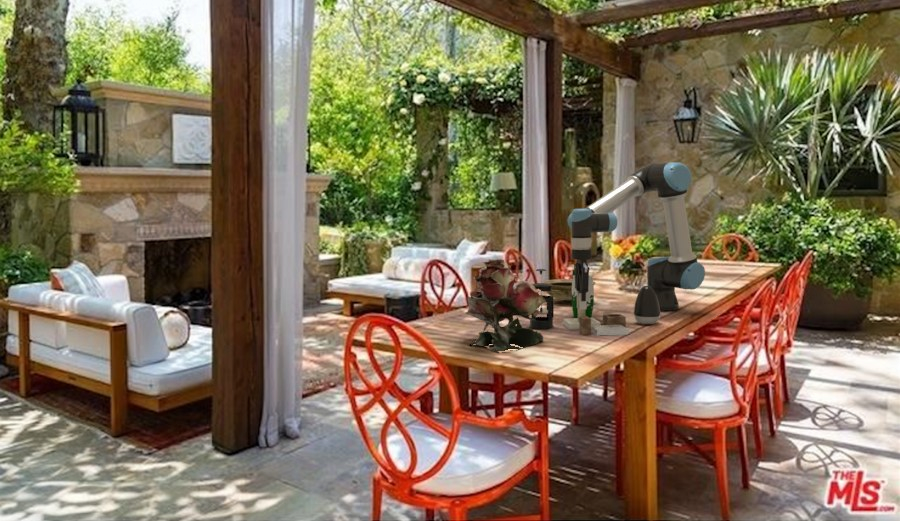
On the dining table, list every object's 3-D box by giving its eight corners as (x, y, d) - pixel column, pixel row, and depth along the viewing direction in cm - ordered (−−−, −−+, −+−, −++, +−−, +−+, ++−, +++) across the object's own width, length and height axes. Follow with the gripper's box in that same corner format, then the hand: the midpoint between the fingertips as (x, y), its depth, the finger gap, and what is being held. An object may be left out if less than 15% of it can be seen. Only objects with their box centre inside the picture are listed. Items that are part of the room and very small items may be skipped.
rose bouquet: (553, 339, 249) (552, 257, 246) (504, 355, 227) (503, 264, 224) (496, 331, 265) (495, 253, 262) (446, 344, 244) (444, 260, 241)
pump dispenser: (660, 321, 277) (661, 284, 275) (659, 326, 267) (660, 287, 265) (634, 320, 280) (634, 283, 278) (632, 325, 270) (632, 287, 269)
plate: (620, 331, 263) (620, 324, 262) (628, 336, 254) (628, 329, 253) (590, 332, 262) (590, 325, 261) (596, 337, 253) (596, 330, 253)
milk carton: (572, 315, 295) (571, 268, 293) (593, 315, 293) (593, 268, 291) (571, 318, 286) (571, 271, 284) (593, 319, 284) (593, 271, 282)
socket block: (619, 323, 274) (619, 313, 274) (625, 327, 267) (625, 316, 267) (602, 324, 274) (602, 314, 273) (608, 327, 267) (608, 317, 266)
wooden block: (587, 331, 260) (587, 316, 259) (590, 334, 255) (590, 318, 254) (579, 332, 260) (579, 316, 259) (583, 334, 255) (583, 319, 254)
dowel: (584, 321, 271) (584, 291, 270) (586, 322, 268) (586, 292, 267) (576, 321, 271) (576, 291, 269) (578, 323, 268) (578, 292, 266)
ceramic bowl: (573, 309, 308) (573, 287, 307) (530, 304, 324) (530, 283, 323) (608, 300, 329) (608, 280, 328) (566, 296, 346) (566, 276, 345)
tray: (592, 323, 275) (593, 317, 275) (600, 328, 265) (600, 322, 265) (563, 325, 274) (563, 318, 274) (569, 330, 264) (569, 323, 264)
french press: (541, 330, 264) (541, 271, 261) (523, 327, 271) (522, 269, 268) (561, 326, 271) (560, 268, 269) (543, 323, 279) (542, 266, 276)
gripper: (597, 250, 259) (597, 311, 261) (585, 246, 274) (585, 304, 277) (577, 250, 258) (577, 312, 260) (566, 247, 274) (567, 305, 276)
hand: (581, 308), depth 269 cm, fingers closed on dowel, 3 cm apart
